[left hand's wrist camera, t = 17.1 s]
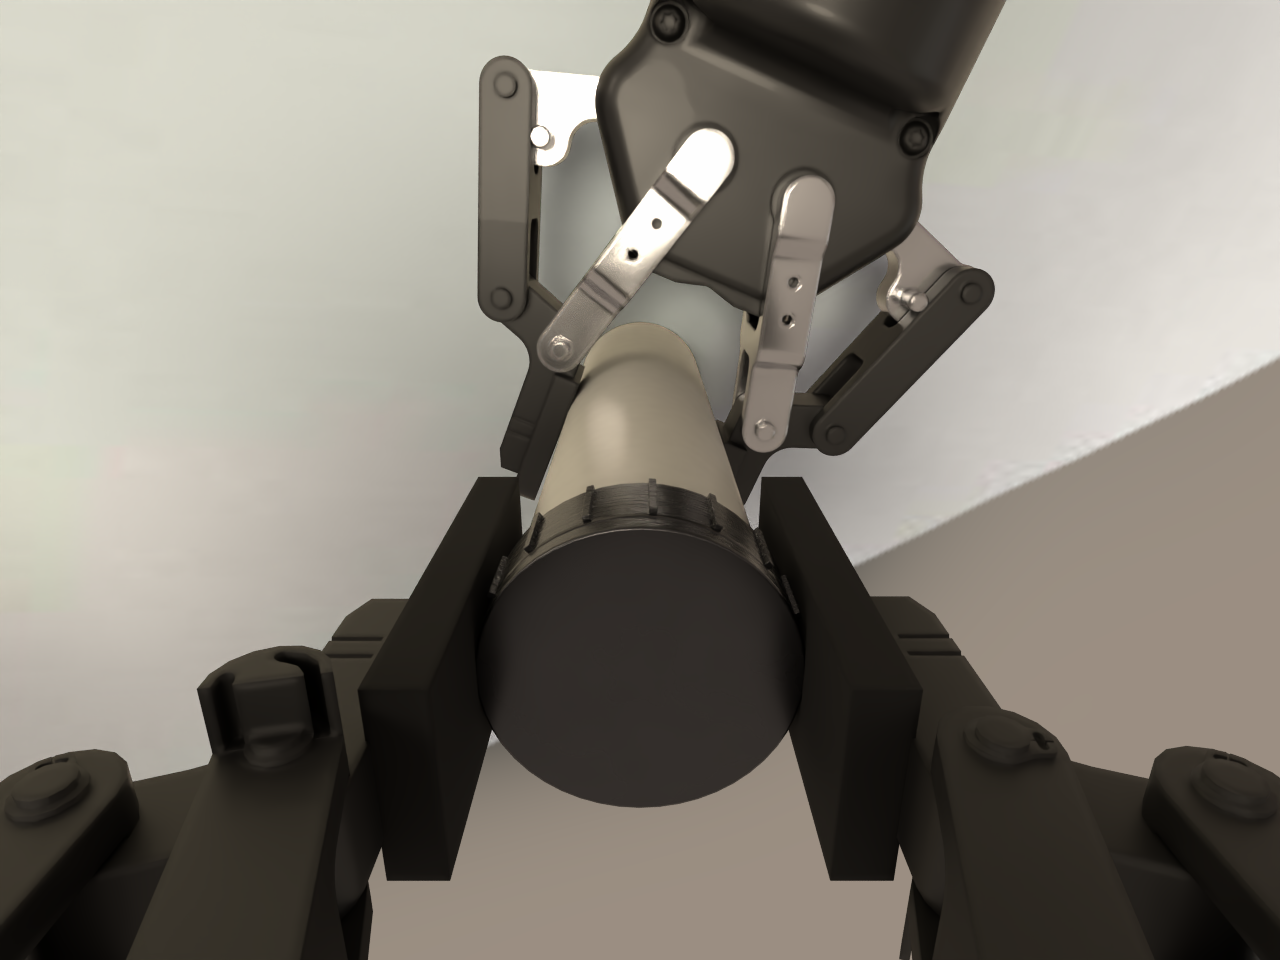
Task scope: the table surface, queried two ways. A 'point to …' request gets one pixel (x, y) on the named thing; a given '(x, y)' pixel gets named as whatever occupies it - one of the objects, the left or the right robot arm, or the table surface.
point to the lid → (640, 647)
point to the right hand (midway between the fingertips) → (606, 514)
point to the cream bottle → (640, 422)
